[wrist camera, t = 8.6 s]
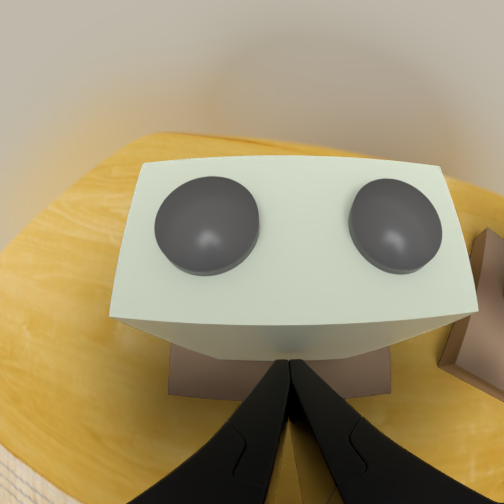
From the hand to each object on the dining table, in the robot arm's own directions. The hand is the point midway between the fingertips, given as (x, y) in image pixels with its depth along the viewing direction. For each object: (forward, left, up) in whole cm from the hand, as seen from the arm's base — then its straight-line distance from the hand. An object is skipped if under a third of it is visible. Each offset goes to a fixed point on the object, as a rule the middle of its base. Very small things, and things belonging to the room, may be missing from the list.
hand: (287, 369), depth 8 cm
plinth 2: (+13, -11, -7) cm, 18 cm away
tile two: (+1, +1, -5) cm, 5 cm away
